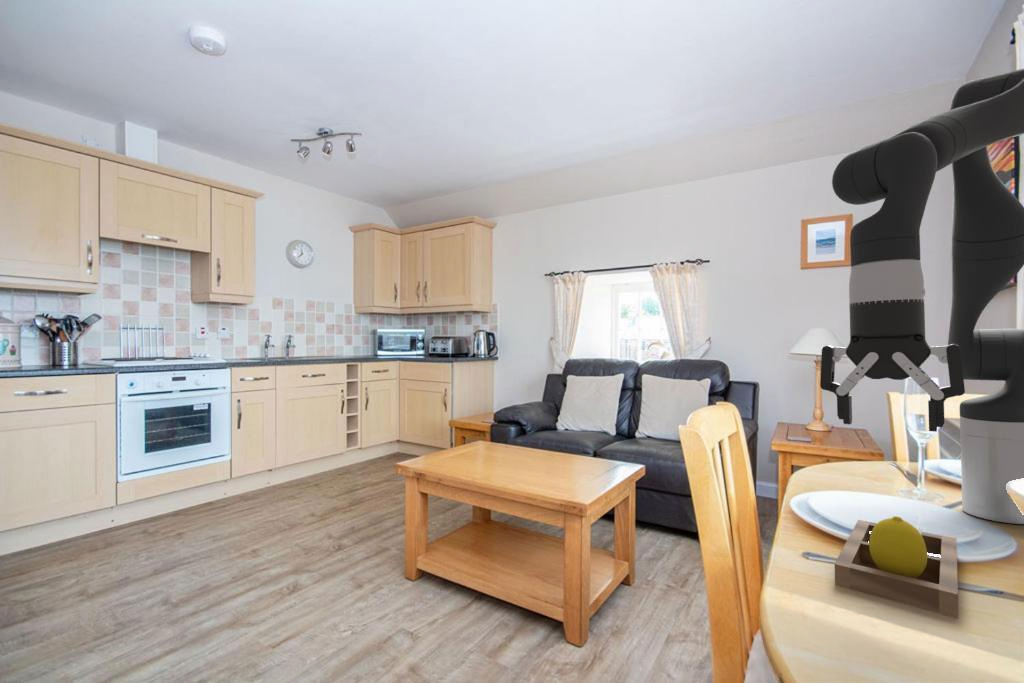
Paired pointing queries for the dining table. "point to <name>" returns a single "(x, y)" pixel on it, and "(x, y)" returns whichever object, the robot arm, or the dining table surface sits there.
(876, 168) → the robot arm
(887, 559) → the lemon
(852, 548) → the wooden tray
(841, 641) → the dining table surface
